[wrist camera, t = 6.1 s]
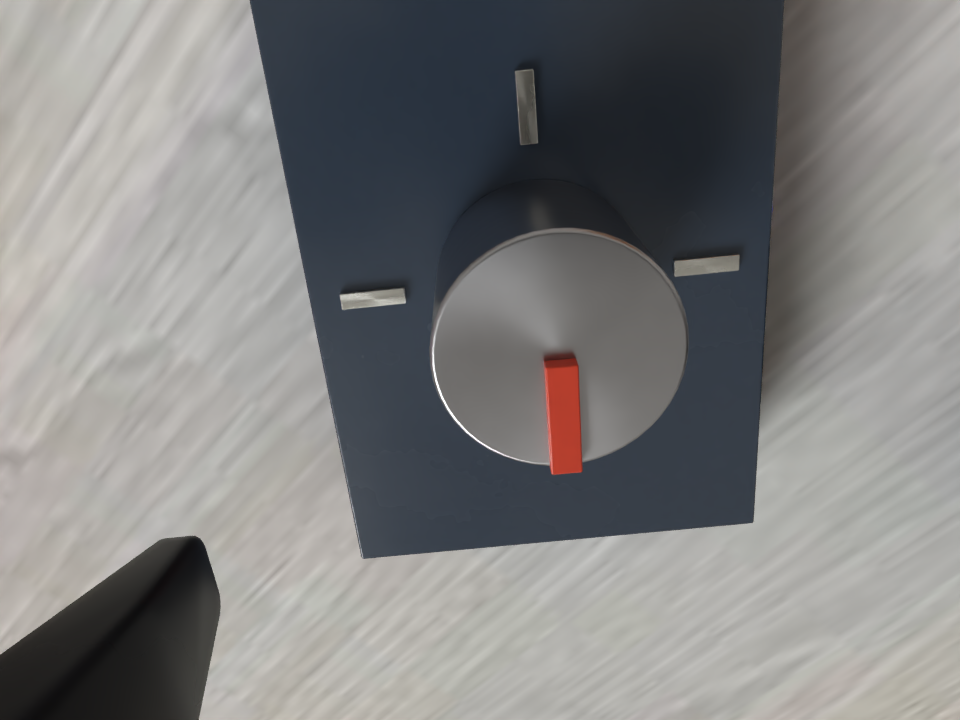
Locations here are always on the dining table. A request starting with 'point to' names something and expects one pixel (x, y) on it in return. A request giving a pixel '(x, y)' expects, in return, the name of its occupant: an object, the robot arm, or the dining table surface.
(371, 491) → the console
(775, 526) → the dining table surface
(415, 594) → the dining table surface
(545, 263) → the dial
